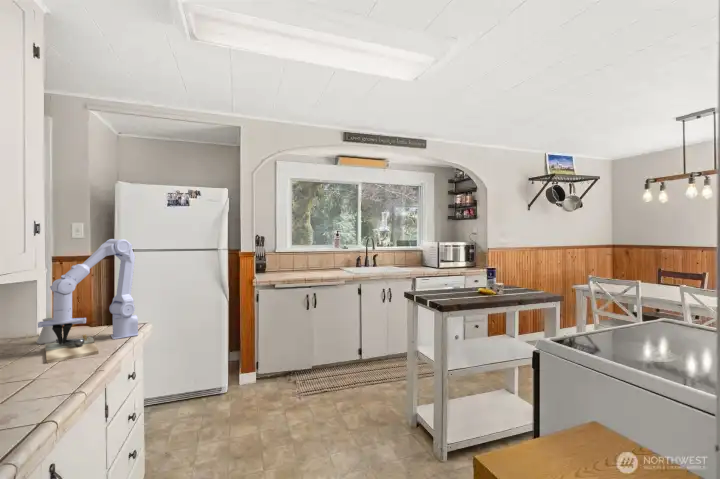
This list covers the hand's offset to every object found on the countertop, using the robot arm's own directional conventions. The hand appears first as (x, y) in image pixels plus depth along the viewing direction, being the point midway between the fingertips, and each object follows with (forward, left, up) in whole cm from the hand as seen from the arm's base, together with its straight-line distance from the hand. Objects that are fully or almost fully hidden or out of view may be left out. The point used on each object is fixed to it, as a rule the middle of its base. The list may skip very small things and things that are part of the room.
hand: (62, 343), depth 138 cm
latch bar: (-2, -1, -1) cm, 3 cm away
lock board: (-3, +2, -3) cm, 5 cm away
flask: (+4, -19, -3) cm, 19 cm away
